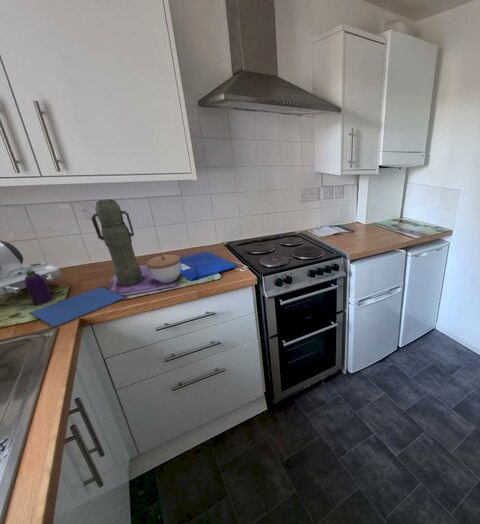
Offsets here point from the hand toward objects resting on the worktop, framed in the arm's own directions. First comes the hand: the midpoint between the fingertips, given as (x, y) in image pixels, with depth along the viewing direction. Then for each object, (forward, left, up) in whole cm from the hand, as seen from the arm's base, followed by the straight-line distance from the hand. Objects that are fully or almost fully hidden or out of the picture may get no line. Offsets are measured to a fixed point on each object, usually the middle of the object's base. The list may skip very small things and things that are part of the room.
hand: (34, 285), depth 112 cm
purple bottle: (0, -2, -6) cm, 7 cm away
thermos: (+25, -14, -7) cm, 29 cm away
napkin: (+5, -18, -6) cm, 19 cm away
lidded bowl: (+34, -26, -7) cm, 43 cm away
